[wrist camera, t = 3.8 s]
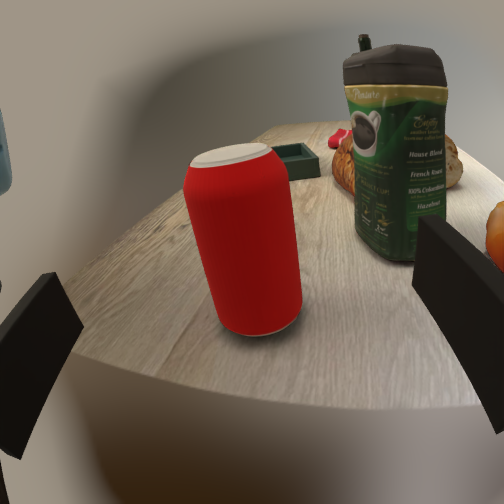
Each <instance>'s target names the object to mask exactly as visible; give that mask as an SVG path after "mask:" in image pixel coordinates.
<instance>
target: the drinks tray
mask: <svg viewBox="0 0 504 504" xmlns="http://www.w3.org/2000/svg"><path fill="white" fill-rule="evenodd" d="M271 148H272V149H273V150H274V151H275V153H276V154H277V155H278V156H279V158H280V159H281V160H282V162H283V163H284V165H285V166H286V169H287V172H288V177H289V181H291V180H298V179H306V178H313V177H320V168H319V158H318V157H317V156H316V155H315V154H314V153H313V152H312V151H311V150H310V149H309V148H308V147H307V146H306V145H305V144H304V143H296V144H289V145H281V146H274V147H271Z"/></svg>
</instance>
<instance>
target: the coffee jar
mask: <svg viewBox="0 0 504 504" xmlns="http://www.w3.org/2000/svg"><path fill="white" fill-rule="evenodd" d="M343 79H344V85H345V87H344V89H345V94H346V98H347V101H348V106H349V111H350V116H351V124H352V136H353V153H354V176H355V177H354V180H355V229H356V231H357V233H358V234H359V236H360V237H361V238H362V240H363V241H364V242H365V243H366V244H367V245H368V246H369V247H370V248H371V249H373V250H374V251H375V252H376V253H378V254H379V255H380V256H382V257H384V258H386V259H388V260H404V261H415V253H416V242H417V230H418V216H425V215H432V214H438V215H439V216H440V217H441V218H443V219H444V220H445V221H446V148H445V112H446V105H447V99H448V88H447V82H446V76H445V73H444V67H443V64H442V60H441V59H440V57H439V56H438V55H437V54H436V53H435V51H434V50H433V49H430V48H424V47H418V46H410V45H401V44H394V45H387V46H383V47H379V48H374V49H370V50H367V51H362V52H358V53H354V54H352V55H351V57H349V58H348V59H346V60H345V61H344V62H343Z"/></svg>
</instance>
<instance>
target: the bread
mask: <svg viewBox="0 0 504 504" xmlns="http://www.w3.org/2000/svg"><path fill="white" fill-rule="evenodd" d="M445 148H446V188H448V187H451V186H453V185H455V184H456V183H457V182H458V181H459V180H460V178H461V176H462V173H463V164H462V162H461V161H460V160H459V159H458V151H457V148H456V146H455V144H454V142H453V141H452V140H451V139H450V138H449V137H448V136H447V135H446V134H445ZM332 174H333V176H334V178H335V179H336V181H337V182H338V183H339V184H340V185H341V186H342V187H343V188H344V189H346V190H348V191H349V192H351V193H352V194H353V196H355V180H354V177H355V176H354V153H353V136H352V134H351V135H349V136H348V137H347V138H345V139H344V140H343V142H342V143H341V144H340V146H339V147H338V148H337V150H336V152H335V154H334V157H333V161H332Z"/></svg>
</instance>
